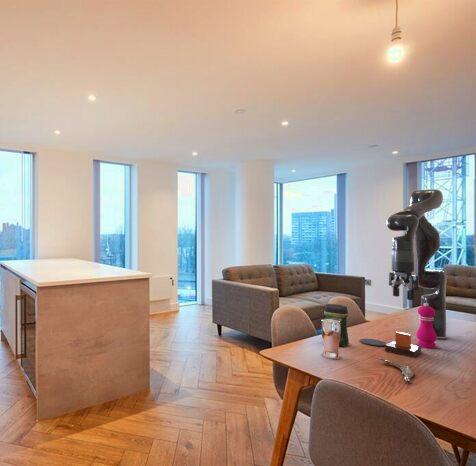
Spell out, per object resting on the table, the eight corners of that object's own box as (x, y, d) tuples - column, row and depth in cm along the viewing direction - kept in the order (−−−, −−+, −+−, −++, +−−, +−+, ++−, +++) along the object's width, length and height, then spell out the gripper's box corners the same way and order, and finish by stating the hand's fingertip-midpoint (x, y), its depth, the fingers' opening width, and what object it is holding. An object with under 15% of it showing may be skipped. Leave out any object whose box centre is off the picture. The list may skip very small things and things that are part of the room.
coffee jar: (349, 343, 157) (349, 304, 157) (347, 348, 151) (347, 307, 151) (326, 339, 164) (326, 301, 164) (322, 343, 158) (322, 304, 158)
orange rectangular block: (396, 349, 149) (396, 331, 149) (411, 352, 145) (410, 334, 145) (395, 350, 148) (395, 332, 148) (409, 353, 144) (409, 335, 144)
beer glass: (338, 354, 143) (338, 319, 143) (343, 360, 136) (342, 323, 137) (319, 352, 145) (319, 318, 145) (323, 358, 139) (323, 322, 139)
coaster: (365, 338, 165) (365, 337, 165) (389, 343, 157) (389, 342, 157) (356, 342, 159) (356, 341, 159) (382, 348, 151) (382, 346, 151)
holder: (392, 346, 154) (392, 340, 154) (421, 352, 146) (421, 346, 146) (385, 350, 148) (385, 345, 148) (414, 357, 140) (414, 351, 140)
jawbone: (401, 365, 132) (402, 360, 132) (438, 389, 112) (438, 383, 112) (376, 361, 134) (376, 356, 134) (407, 384, 114) (407, 378, 114)
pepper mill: (441, 349, 150) (440, 304, 150) (422, 348, 151) (422, 303, 151) (430, 344, 157) (429, 301, 157) (412, 343, 158) (412, 300, 159)
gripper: (425, 262, 137) (425, 301, 137) (400, 259, 152) (400, 295, 152) (405, 261, 138) (405, 301, 138) (382, 259, 152) (382, 295, 152)
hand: (403, 298), depth 145 cm, fingers open, 8 cm apart
